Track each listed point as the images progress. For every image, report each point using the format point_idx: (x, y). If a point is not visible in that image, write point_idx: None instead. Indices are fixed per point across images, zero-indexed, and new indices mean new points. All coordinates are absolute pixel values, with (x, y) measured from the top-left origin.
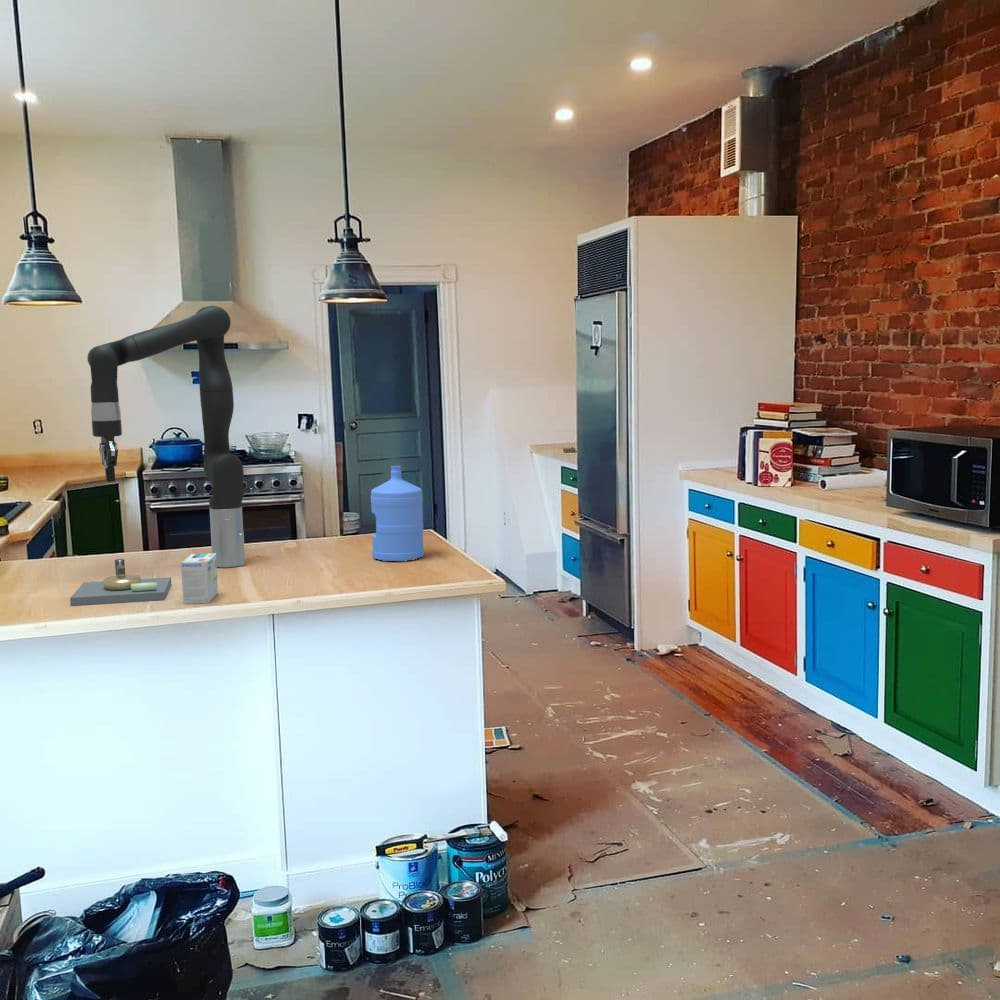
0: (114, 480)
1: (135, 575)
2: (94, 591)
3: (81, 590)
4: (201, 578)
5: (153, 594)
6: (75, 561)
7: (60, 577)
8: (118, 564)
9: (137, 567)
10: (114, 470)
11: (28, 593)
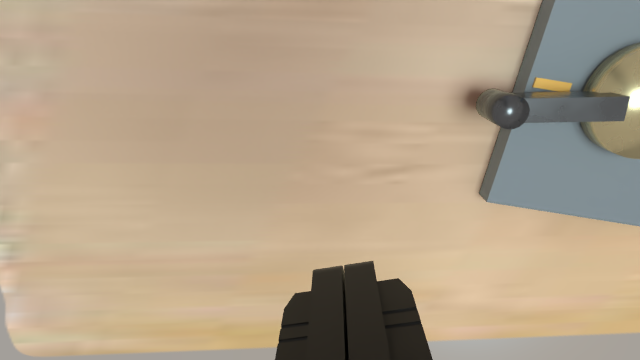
0: (373, 266)
1: (636, 58)
2: (636, 175)
3: (597, 206)
4: None
5: None
6: (52, 217)
7: (277, 248)
8: (545, 116)
9: (207, 40)
10: (389, 351)
11: (443, 306)
